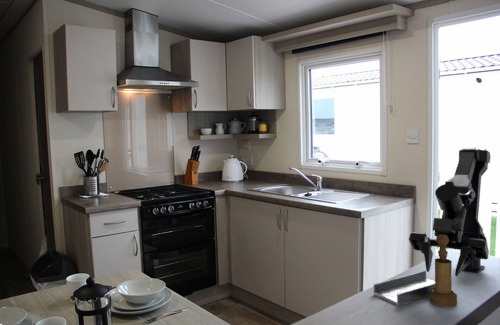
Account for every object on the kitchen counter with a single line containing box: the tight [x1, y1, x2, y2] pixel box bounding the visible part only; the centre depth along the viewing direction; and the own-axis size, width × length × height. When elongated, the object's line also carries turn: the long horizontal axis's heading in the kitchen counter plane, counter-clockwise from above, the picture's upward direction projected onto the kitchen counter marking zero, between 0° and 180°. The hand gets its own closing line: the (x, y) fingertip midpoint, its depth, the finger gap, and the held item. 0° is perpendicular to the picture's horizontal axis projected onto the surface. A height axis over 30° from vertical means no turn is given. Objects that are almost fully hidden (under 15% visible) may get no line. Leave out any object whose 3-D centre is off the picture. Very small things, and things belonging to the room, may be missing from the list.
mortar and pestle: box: [429, 234, 458, 308], centre depth 111 cm, size 7×6×18 cm
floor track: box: [373, 270, 435, 307], centre depth 119 cm, size 20×9×3 cm, turn 117°
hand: (441, 273), depth 109 cm, fingers open, 7 cm apart
